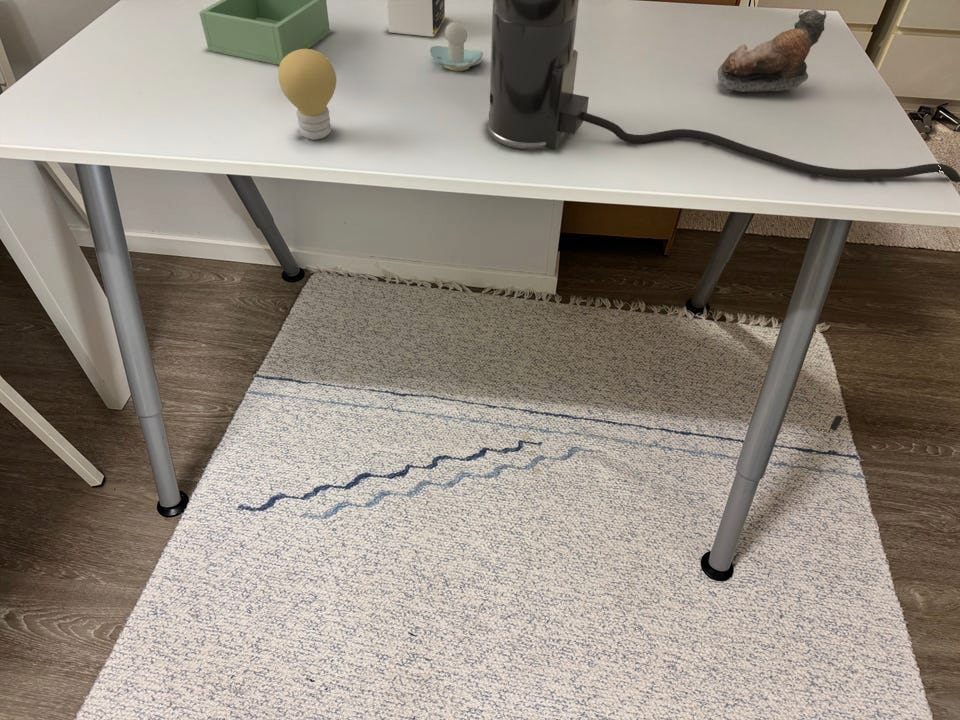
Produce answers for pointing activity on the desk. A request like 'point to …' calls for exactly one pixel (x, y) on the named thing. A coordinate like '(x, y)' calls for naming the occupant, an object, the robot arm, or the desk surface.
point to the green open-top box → (264, 27)
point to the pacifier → (456, 50)
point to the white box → (415, 16)
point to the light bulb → (309, 89)
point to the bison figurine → (774, 59)
